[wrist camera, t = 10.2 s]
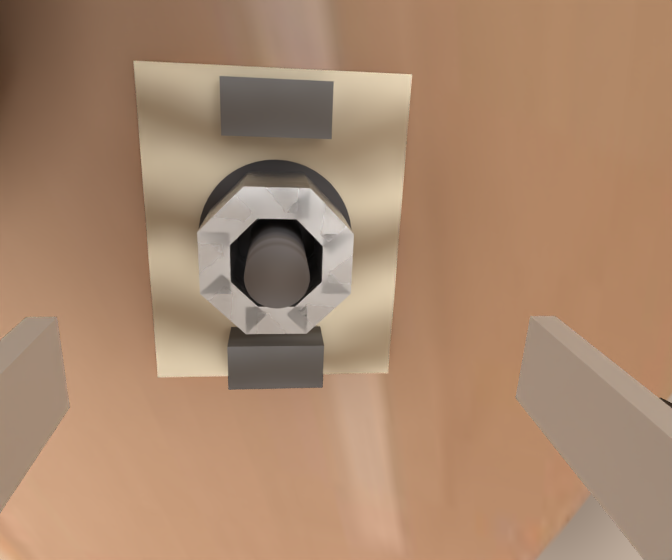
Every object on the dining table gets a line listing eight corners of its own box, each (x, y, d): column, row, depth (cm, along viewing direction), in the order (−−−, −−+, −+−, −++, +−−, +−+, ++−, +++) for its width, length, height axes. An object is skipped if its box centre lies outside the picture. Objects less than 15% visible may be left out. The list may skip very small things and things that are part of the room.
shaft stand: (138, 62, 30) (81, 46, 21) (407, 75, 32) (459, 65, 23) (161, 368, 37) (124, 456, 28) (384, 365, 39) (418, 445, 30)
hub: (209, 170, 31) (195, 185, 26) (342, 173, 32) (356, 189, 27) (213, 295, 34) (201, 334, 28) (336, 295, 35) (348, 333, 29)
